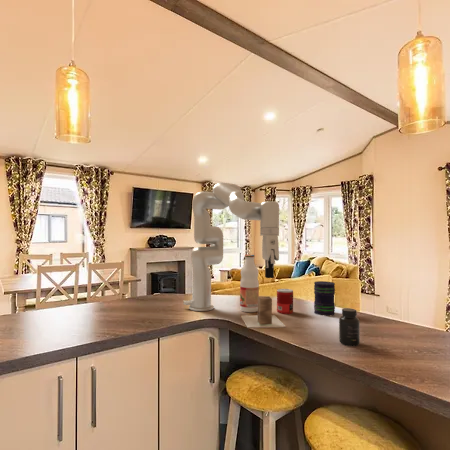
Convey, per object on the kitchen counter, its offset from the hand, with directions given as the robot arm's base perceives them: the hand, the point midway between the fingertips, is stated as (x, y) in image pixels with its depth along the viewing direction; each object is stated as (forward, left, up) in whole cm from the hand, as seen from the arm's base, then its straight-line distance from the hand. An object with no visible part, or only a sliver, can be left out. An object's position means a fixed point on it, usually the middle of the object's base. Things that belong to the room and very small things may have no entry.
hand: (269, 277), depth 129 cm
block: (0, +8, -21) cm, 22 cm away
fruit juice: (-2, +34, -21) cm, 40 cm away
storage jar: (+34, +26, -21) cm, 48 cm away
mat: (0, +13, -21) cm, 25 cm away
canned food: (+15, +29, -21) cm, 39 cm away
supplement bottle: (+25, -17, -21) cm, 37 cm away
